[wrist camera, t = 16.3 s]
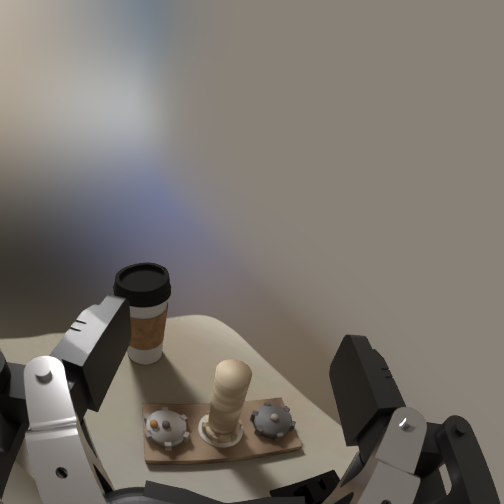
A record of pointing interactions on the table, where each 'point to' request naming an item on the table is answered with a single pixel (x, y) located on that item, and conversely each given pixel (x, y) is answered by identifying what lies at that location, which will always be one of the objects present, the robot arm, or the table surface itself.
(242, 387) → the spindle gear
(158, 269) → the coffee cup
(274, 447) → the gear board
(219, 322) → the table surface
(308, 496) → the black block stand
